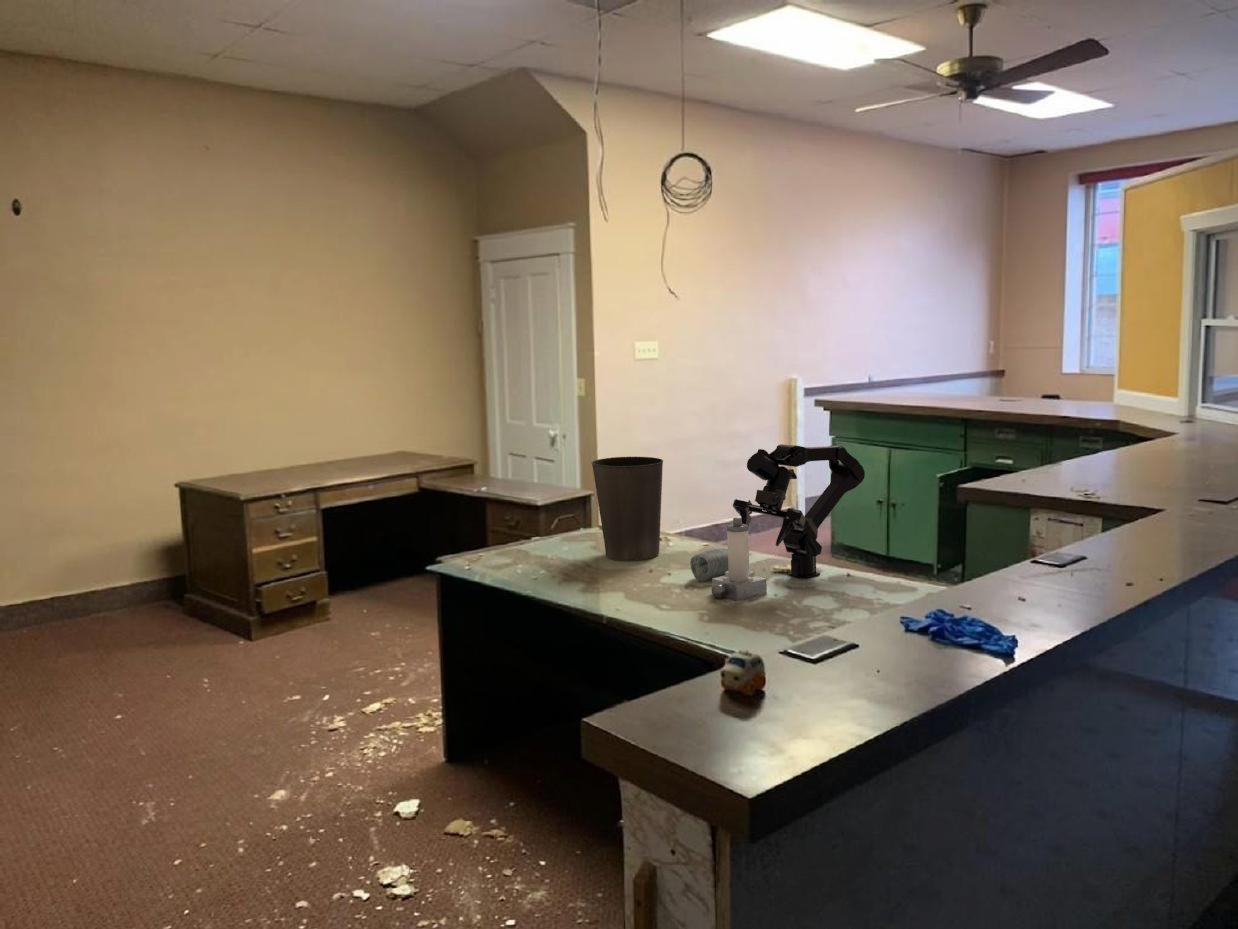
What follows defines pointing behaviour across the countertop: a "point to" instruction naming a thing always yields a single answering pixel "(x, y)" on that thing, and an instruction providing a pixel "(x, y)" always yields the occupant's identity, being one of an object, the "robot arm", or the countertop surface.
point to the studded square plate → (739, 587)
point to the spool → (709, 564)
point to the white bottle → (738, 550)
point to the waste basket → (629, 505)
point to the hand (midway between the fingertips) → (759, 541)
